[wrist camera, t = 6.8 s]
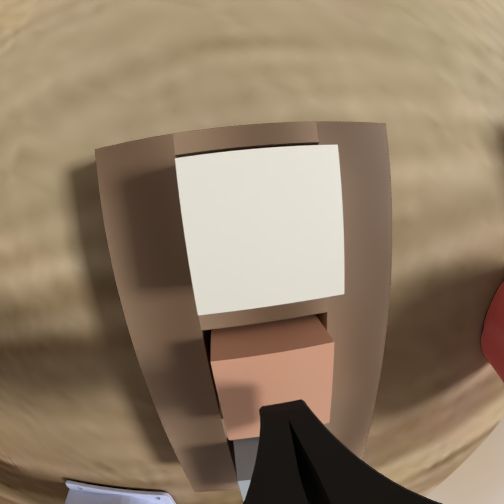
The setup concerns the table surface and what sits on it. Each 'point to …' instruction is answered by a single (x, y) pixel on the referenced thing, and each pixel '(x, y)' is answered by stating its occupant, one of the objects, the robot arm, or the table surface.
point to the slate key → (245, 461)
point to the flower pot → (495, 333)
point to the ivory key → (262, 226)
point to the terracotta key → (271, 370)
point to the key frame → (197, 326)
